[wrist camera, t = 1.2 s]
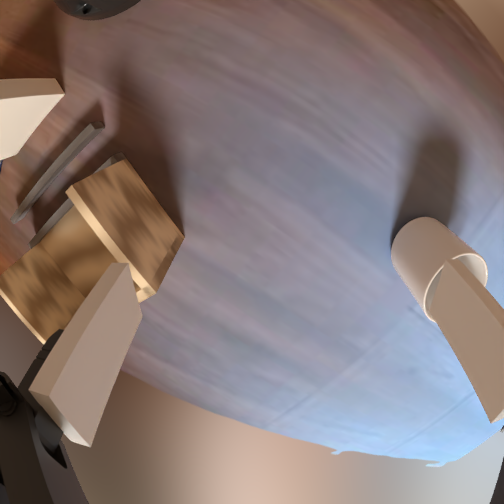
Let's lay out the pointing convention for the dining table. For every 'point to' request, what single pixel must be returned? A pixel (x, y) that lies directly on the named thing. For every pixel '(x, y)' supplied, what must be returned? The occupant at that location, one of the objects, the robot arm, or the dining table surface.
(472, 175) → the dining table surface
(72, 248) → the carcass
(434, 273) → the mug
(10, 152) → the door
